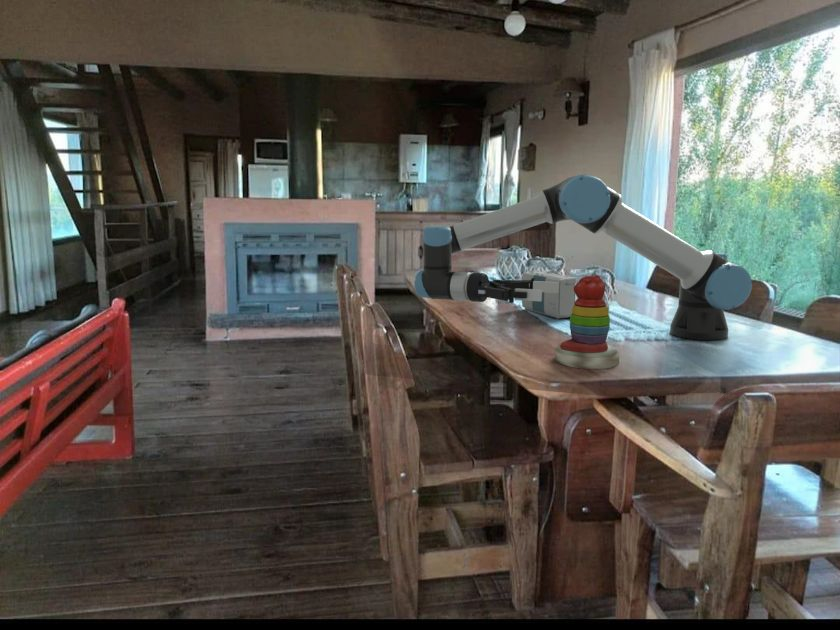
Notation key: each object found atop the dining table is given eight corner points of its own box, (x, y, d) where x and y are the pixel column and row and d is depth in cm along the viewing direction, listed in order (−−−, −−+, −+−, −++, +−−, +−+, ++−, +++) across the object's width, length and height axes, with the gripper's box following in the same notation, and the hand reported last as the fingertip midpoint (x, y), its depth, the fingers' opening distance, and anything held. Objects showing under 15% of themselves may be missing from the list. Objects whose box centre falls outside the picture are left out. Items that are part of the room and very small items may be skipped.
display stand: (619, 355, 160) (620, 343, 160) (617, 371, 146) (618, 358, 146) (558, 351, 165) (559, 339, 164) (551, 366, 151) (551, 353, 151)
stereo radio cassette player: (520, 309, 223) (521, 252, 219) (540, 307, 226) (541, 251, 222) (556, 320, 204) (558, 257, 200) (577, 318, 207) (579, 256, 203)
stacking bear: (581, 341, 163) (584, 271, 159) (617, 348, 155) (621, 275, 152) (556, 348, 155) (559, 275, 152) (593, 356, 148) (596, 279, 145)
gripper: (489, 294, 179) (563, 298, 169) (450, 309, 158) (533, 315, 148) (489, 267, 178) (564, 270, 168) (450, 278, 156) (533, 283, 146)
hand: (550, 291), depth 158 cm, fingers open, 13 cm apart
